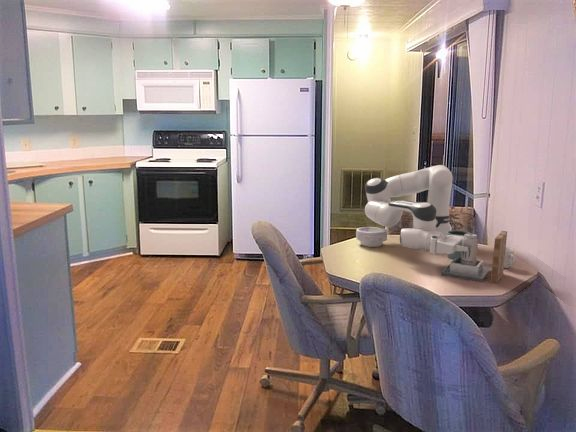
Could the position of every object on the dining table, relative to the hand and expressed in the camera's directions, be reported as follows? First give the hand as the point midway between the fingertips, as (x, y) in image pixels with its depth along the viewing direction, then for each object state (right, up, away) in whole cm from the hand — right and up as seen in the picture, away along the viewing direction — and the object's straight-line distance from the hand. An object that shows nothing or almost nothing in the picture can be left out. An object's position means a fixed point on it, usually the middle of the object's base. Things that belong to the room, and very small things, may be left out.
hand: (470, 246), depth 211 cm
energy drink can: (-1, -10, +2) cm, 10 cm away
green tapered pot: (+3, -7, +26) cm, 27 cm away
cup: (+19, -10, +12) cm, 24 cm away
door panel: (+9, -13, -3) cm, 16 cm away
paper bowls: (-33, -2, +47) cm, 58 cm away
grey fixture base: (-1, -11, +3) cm, 12 cm away
